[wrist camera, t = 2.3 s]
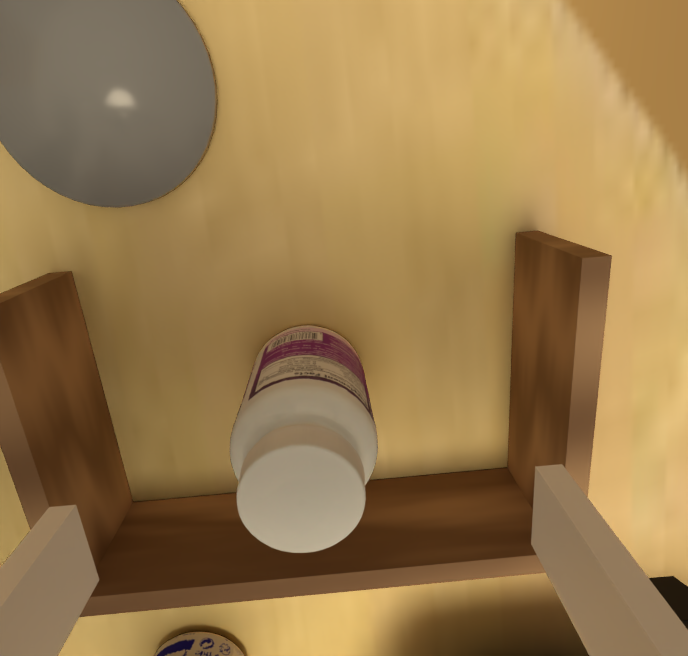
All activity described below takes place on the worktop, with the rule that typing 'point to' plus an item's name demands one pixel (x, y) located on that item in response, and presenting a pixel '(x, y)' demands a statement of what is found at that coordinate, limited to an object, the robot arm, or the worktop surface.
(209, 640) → the beverage can
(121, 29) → the coaster
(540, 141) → the worktop surface
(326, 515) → the pill bottle
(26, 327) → the wooden u-shaped frame
